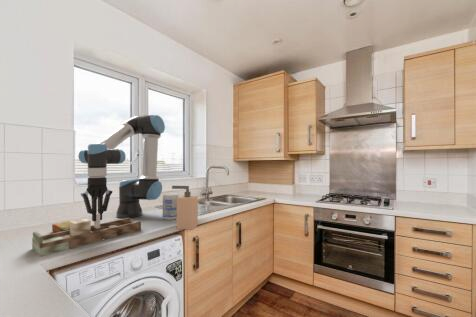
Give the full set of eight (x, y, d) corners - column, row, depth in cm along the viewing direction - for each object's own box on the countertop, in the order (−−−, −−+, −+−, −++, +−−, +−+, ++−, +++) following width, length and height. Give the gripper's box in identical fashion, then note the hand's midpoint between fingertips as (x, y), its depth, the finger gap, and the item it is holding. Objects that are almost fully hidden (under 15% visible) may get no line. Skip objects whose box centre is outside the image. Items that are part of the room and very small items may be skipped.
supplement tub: (165, 221, 135) (165, 195, 135) (160, 217, 143) (160, 193, 143) (181, 218, 141) (181, 194, 141) (175, 215, 149) (175, 192, 149)
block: (85, 231, 106) (85, 218, 106) (90, 234, 102) (90, 220, 102) (69, 235, 101) (69, 221, 101) (74, 237, 98) (74, 223, 98)
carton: (71, 228, 122) (71, 220, 122) (84, 234, 113) (84, 225, 113) (51, 232, 115) (51, 223, 115) (64, 238, 106) (64, 229, 106)
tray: (129, 225, 125) (129, 213, 125) (140, 230, 118) (140, 216, 118) (32, 248, 94) (32, 231, 94) (40, 256, 86) (40, 237, 86)
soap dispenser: (197, 225, 127) (197, 185, 127) (192, 229, 118) (192, 187, 118) (175, 224, 129) (175, 184, 129) (169, 228, 120) (169, 186, 120)
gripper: (108, 175, 115) (108, 223, 115) (78, 177, 104) (77, 229, 104) (115, 176, 110) (115, 225, 110) (84, 178, 100) (84, 232, 100)
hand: (97, 227), depth 107 cm, fingers closed
